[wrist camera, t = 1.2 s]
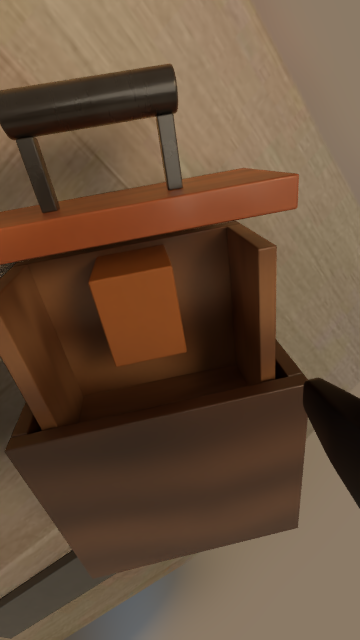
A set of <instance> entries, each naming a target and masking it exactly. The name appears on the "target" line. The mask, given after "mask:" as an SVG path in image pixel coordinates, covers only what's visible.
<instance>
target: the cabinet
mask: <svg viewBox="0 0 360 640" xmlns="http://www.w3.org/2000/svg"><path fill="white" fill-rule="evenodd" d="M306 380H308V379H307V378H306V377H305V375H304V374H303V373H302V372H301V370H300V369H299V368H298V366H297V365H296V364H295V363H294V361H293V360H292V359H291V358H290V356H289V355H288V354H287V353H286V351H285V350H284V349H283V348H282V346H281V345H280V344H279V343H278V341H277V340H276V339H275V380H271V381H267V382H262V383H257V384H253V385H248V386H244V387H239V388H235V389H230V390H226V391H221V392H217V393H212V394H208V395H203V396H198V397H194V398H189V399H185V400H180V401H176V402H171V403H167V404H162V405H158V406H153V407H149V408H144V409H139V410H135V411H130V412H126V413H121V414H117V415H112V416H108V417H103V418H99V419H94V420H90V421H85V422H80V423H76V424H71V425H67V426H62V427H58V428H53V429H49V430H44V431H42V429H41V428H40V426H39V424H38V422H37V420H36V419H35V417H34V415H33V413H32V411H31V410H30V408H29V406H28V404H27V403H26V402H25V405H24V407H23V410H22V412H21V414H20V417H19V419H18V421H17V424H16V426H15V428H14V431H13V433H12V436H11V438H10V440H9V442H8V445H7V447H6V450H5V453H6V454H7V456H8V457H9V459H10V460H11V461H12V463H13V464H14V466H15V467H16V469H17V470H18V472H19V473H20V475H21V476H22V477H23V479H24V480H25V482H26V483H27V485H28V486H29V488H30V489H31V490H32V492H33V493H34V495H35V496H36V498H37V499H38V501H39V502H40V504H41V505H42V506H43V508H44V509H45V511H46V512H47V514H48V515H49V517H50V518H51V519H52V521H53V522H54V524H55V525H56V527H57V528H58V530H59V531H60V533H61V534H62V535H63V537H64V538H65V540H66V541H67V543H68V544H69V546H70V547H71V548H72V550H73V551H74V553H75V554H76V556H77V557H78V559H79V560H80V561H81V563H82V564H83V566H84V567H85V569H86V570H87V572H88V573H89V575H90V576H91V577H92V579H94V578H98V577H102V576H106V575H110V574H114V573H118V572H122V571H126V570H130V569H134V568H138V567H142V566H146V565H150V564H154V563H158V562H162V561H166V560H170V559H174V558H178V557H182V556H186V555H190V554H194V553H198V552H202V551H206V550H210V549H214V548H218V547H222V546H226V545H230V544H234V543H239V542H243V541H246V540H251V539H255V538H259V537H262V536H267V535H271V534H275V533H278V532H283V531H287V530H291V529H295V528H298V519H299V508H300V496H301V486H302V475H303V464H304V453H305V441H306V431H307V420H308V416H307V414H306V412H305V409H304V407H303V388H304V382H305V381H306Z"/></svg>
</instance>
